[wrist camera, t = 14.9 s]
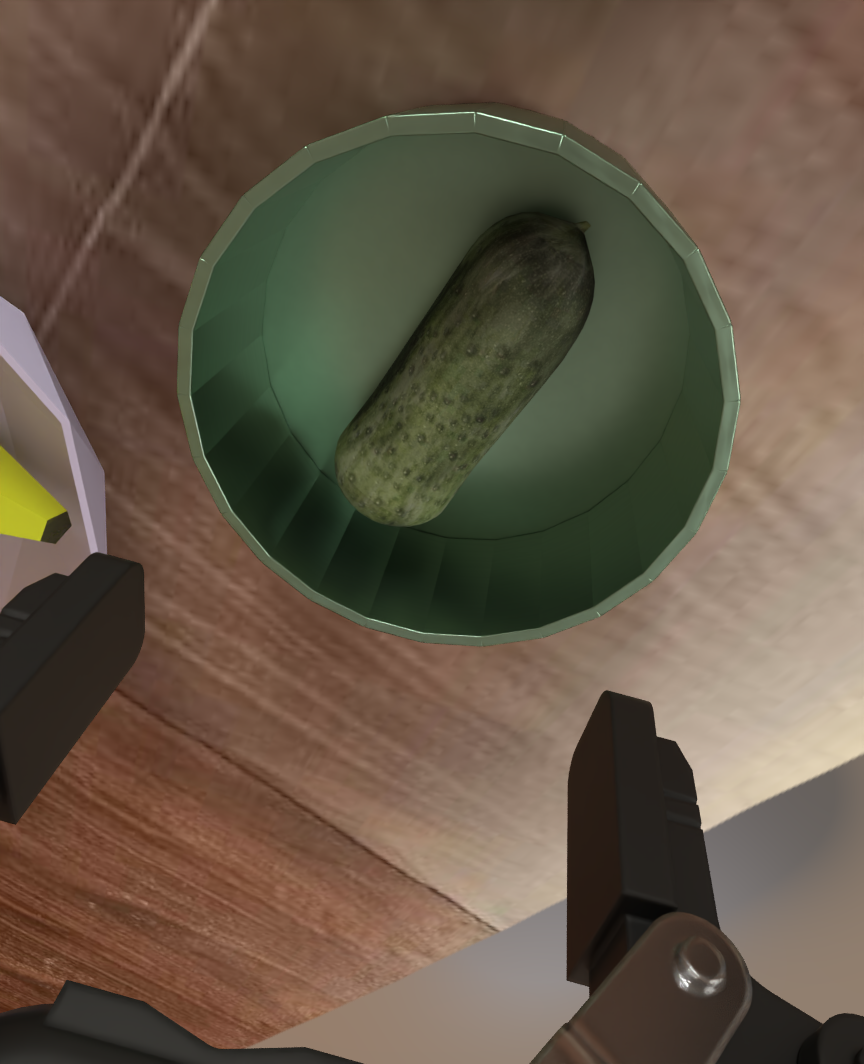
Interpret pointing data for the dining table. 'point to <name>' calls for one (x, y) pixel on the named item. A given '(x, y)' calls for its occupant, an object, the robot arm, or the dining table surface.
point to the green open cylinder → (384, 329)
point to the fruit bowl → (42, 468)
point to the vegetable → (468, 368)
